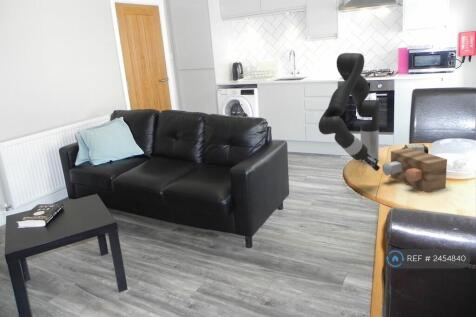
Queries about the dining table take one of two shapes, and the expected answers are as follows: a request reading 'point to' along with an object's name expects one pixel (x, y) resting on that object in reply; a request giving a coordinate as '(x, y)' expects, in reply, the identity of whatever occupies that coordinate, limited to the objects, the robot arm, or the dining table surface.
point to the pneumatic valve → (417, 147)
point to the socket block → (428, 163)
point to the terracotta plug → (413, 174)
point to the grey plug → (392, 167)
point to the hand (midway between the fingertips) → (377, 169)
